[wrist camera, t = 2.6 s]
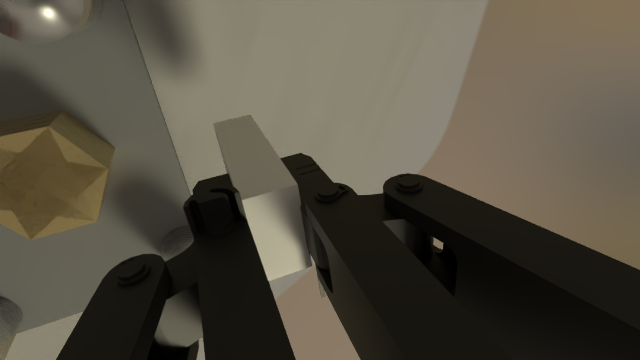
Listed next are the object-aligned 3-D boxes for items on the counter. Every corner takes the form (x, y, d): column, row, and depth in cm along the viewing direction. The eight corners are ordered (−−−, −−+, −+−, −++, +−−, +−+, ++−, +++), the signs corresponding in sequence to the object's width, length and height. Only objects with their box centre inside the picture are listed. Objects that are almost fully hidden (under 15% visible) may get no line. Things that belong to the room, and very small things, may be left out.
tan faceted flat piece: (17, 219, 17) (-5, 249, 15) (-40, 130, 15) (-74, 151, 13) (132, 188, 18) (128, 212, 16) (95, 103, 16) (85, 118, 14)
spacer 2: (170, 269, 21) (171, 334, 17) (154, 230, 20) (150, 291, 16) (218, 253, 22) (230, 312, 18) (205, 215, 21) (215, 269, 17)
